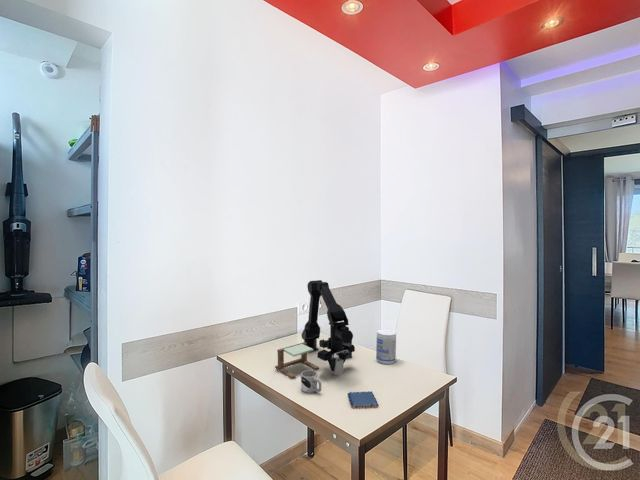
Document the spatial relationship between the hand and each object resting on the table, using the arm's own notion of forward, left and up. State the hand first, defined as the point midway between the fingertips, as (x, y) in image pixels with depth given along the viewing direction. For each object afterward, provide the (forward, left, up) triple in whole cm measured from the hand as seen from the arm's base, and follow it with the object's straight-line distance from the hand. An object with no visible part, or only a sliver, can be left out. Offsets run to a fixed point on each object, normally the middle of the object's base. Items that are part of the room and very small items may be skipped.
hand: (336, 369), depth 152 cm
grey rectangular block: (0, 0, -1) cm, 1 cm away
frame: (+12, -14, -1) cm, 19 cm away
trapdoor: (+12, -13, +8) cm, 20 cm away
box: (-16, -12, -2) cm, 20 cm away
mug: (+19, +6, -2) cm, 20 cm away
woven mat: (+9, +25, -2) cm, 27 cm away
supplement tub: (-28, +6, -2) cm, 29 cm away
